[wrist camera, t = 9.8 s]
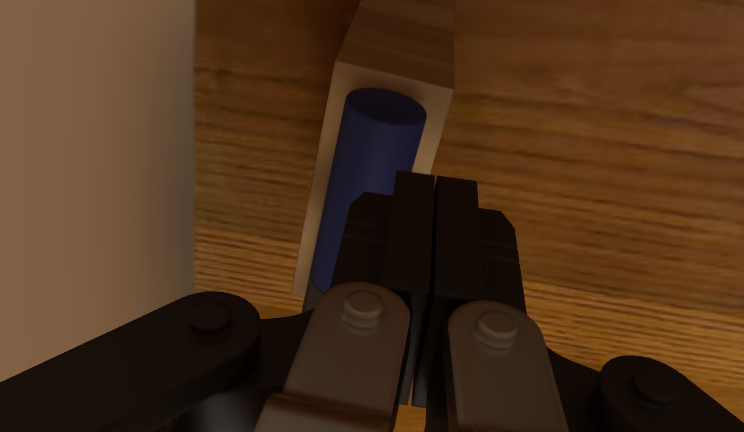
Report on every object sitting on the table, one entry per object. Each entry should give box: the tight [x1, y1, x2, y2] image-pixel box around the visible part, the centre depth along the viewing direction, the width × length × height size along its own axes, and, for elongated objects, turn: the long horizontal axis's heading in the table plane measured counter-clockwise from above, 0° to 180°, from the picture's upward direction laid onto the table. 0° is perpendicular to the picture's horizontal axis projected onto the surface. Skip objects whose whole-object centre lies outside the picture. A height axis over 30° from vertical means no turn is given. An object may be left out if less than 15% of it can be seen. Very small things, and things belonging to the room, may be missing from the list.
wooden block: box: [291, 0, 455, 297], centre depth 30 cm, size 10×4×12 cm, turn 168°
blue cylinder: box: [302, 88, 427, 313], centre depth 24 cm, size 9×3×3 cm, turn 168°
